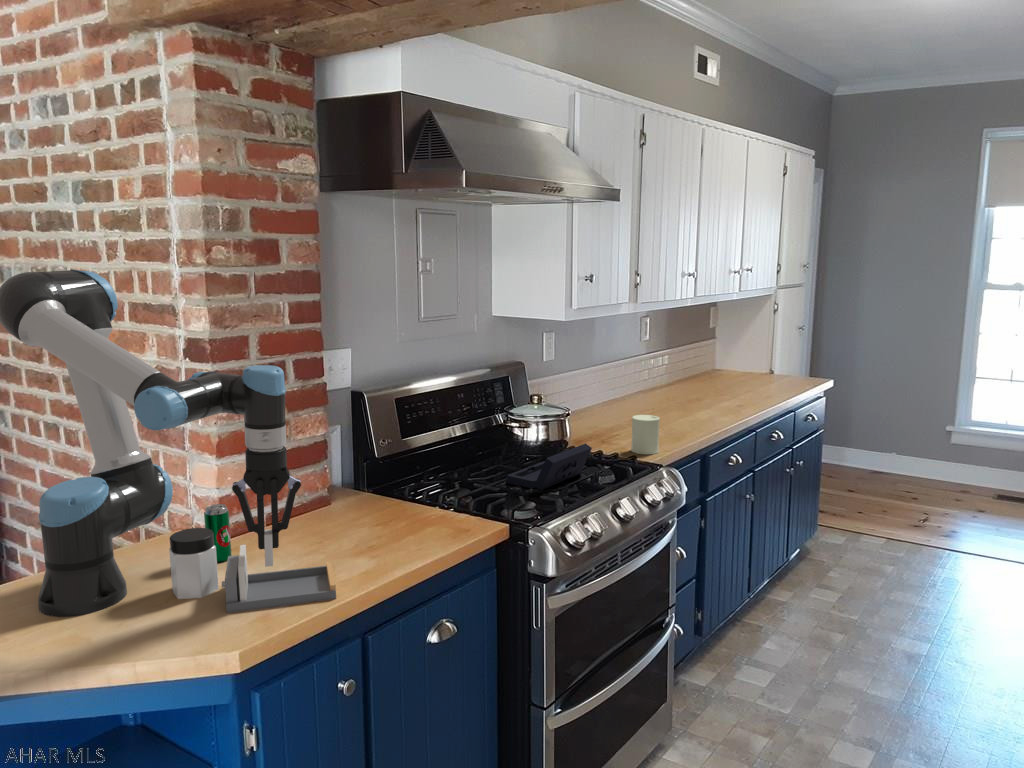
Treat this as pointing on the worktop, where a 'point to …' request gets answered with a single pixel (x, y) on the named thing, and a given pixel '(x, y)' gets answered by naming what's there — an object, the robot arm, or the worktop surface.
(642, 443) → the can
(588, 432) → the worktop surface
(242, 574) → the pusher
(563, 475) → the dark navy angled device
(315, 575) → the grey tray
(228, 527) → the soda can
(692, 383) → the worktop surface
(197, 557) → the jar
